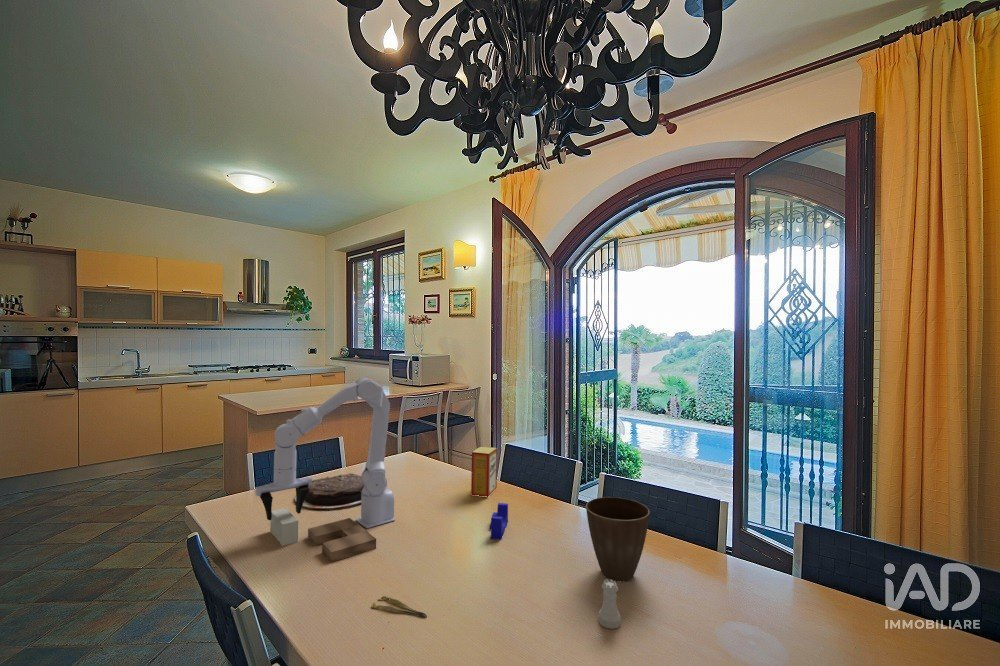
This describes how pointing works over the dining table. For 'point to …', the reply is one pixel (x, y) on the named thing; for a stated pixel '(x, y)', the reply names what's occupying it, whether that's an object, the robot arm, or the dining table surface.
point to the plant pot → (617, 535)
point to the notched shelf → (341, 539)
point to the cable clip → (499, 521)
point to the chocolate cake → (334, 492)
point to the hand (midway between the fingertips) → (283, 515)
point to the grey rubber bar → (284, 526)
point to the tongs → (398, 603)
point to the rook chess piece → (609, 606)
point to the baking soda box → (484, 471)
